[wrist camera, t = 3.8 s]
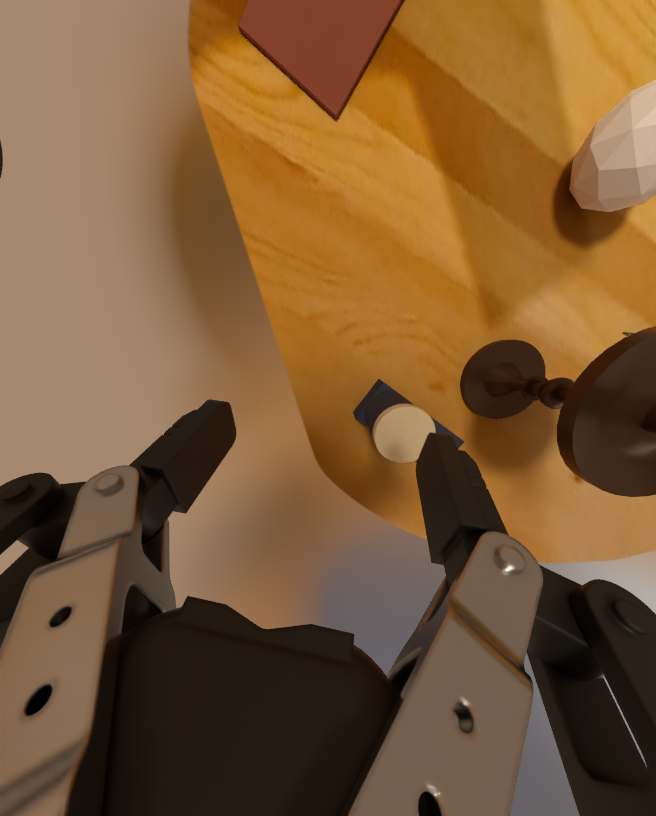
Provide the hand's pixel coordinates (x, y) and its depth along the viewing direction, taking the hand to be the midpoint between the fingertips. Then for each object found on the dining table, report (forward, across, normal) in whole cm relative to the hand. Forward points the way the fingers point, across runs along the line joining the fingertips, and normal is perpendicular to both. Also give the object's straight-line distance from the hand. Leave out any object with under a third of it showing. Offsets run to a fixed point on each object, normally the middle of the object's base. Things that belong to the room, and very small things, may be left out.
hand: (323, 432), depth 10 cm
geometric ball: (+28, -20, -12) cm, 37 cm away
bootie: (+17, -8, +12) cm, 22 cm away
